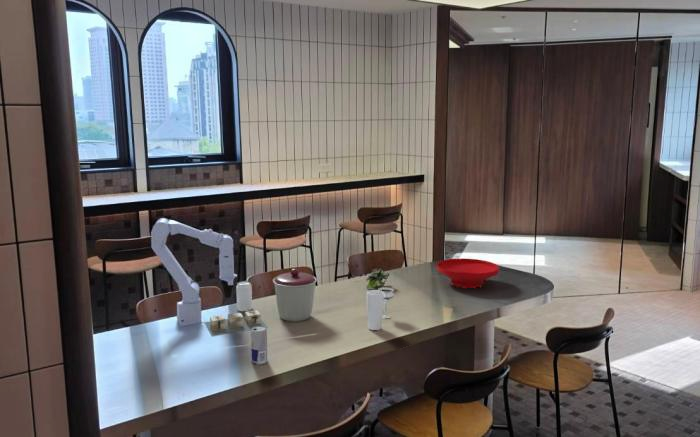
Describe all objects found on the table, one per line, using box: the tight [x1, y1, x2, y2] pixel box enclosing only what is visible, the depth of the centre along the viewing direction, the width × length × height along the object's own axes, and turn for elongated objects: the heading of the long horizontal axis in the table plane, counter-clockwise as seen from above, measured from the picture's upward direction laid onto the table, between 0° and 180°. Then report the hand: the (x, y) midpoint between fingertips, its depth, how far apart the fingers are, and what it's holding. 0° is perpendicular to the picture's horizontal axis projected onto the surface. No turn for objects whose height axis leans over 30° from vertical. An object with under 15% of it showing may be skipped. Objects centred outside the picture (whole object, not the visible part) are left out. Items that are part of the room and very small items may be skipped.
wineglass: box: [377, 286, 395, 319], centre depth 235 cm, size 7×7×12 cm
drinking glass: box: [365, 289, 385, 331], centre depth 222 cm, size 7×7×15 cm
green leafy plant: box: [365, 268, 390, 290], centre depth 276 cm, size 11×11×12 cm
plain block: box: [227, 312, 244, 328], centre depth 224 cm, size 5×5×4 cm
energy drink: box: [250, 326, 268, 366], centre depth 191 cm, size 5×5×12 cm
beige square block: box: [209, 314, 226, 331], centre depth 221 cm, size 5×5×4 cm
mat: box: [203, 316, 269, 337], centre depth 225 cm, size 22×16×1 cm
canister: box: [272, 268, 318, 323], centre depth 233 cm, size 18×18×21 cm
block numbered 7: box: [244, 310, 262, 326], centre depth 227 cm, size 5×5×4 cm
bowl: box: [436, 258, 500, 289], centre depth 283 cm, size 30×30×10 cm
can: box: [235, 280, 253, 312], centre depth 243 cm, size 6×6×12 cm
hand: (227, 297), depth 231 cm, fingers closed
